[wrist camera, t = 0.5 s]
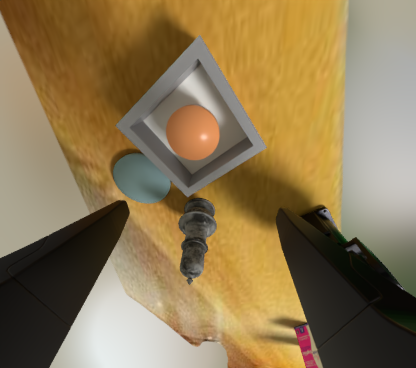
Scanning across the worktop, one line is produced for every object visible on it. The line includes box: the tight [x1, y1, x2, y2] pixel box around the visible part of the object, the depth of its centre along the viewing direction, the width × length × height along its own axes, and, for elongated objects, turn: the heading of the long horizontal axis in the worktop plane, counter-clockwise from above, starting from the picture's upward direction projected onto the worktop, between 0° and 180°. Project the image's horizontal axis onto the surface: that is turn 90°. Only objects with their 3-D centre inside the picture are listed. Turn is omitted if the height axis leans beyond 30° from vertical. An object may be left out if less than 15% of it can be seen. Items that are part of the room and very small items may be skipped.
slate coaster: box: [113, 153, 171, 203], centre depth 24 cm, size 8×8×1 cm
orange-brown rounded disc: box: [166, 104, 219, 160], centre depth 17 cm, size 6×6×1 cm
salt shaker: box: [178, 198, 217, 285], centre depth 22 cm, size 6×6×12 cm
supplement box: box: [294, 323, 323, 368], centre depth 47 cm, size 6×6×12 cm
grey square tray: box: [115, 35, 267, 197], centre depth 18 cm, size 11×11×4 cm
